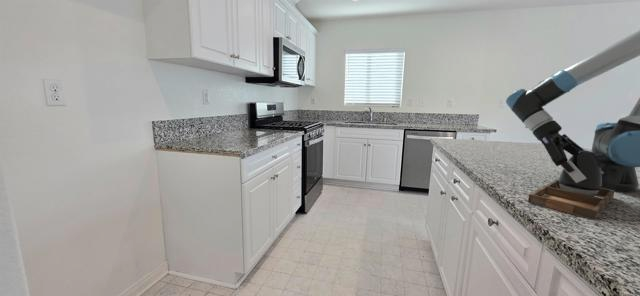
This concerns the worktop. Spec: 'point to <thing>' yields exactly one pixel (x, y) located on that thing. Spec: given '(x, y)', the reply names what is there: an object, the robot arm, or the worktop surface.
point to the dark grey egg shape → (589, 169)
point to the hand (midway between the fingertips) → (590, 178)
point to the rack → (571, 200)
